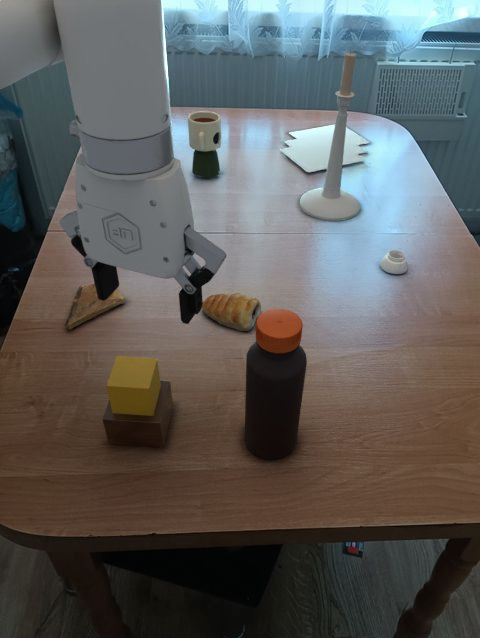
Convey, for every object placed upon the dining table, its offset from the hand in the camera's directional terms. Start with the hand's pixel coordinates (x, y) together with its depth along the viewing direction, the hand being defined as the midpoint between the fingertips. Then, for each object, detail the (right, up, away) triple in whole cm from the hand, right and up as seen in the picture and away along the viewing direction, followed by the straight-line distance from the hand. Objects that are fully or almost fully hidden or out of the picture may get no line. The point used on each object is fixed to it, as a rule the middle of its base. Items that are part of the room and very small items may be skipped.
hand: (149, 304), depth 57 cm
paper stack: (+28, +47, +81) cm, 97 cm away
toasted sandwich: (-15, +2, +31) cm, 34 cm away
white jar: (+36, +10, +43) cm, 57 cm away
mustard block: (-4, -11, +11) cm, 16 cm away
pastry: (+7, 0, +31) cm, 32 cm away
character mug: (-1, +35, +67) cm, 76 cm away
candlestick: (+26, +26, +59) cm, 70 cm away
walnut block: (-4, -15, +14) cm, 21 cm away
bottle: (+13, -17, +13) cm, 25 cm away
